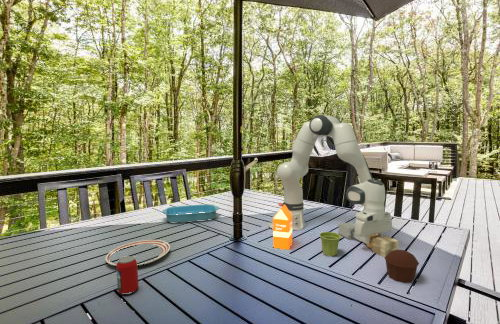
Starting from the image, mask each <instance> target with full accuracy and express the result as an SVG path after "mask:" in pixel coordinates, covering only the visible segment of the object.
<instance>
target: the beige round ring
mask: <svg viewBox="0 0 500 324" xmlns="http://www.w3.org/2000/svg"><path fill="white" fill-rule="evenodd" d="M141 244H153V245H157V246H158V247H160V248H161V249H162V253H161V254H160V255H159V256H158V257H157V258H155V259H154V260H151V261H148V262H145V263H141V264H137V267H138V265H139V266H143V264H144V265H146V264H150V263H153V262H155V261H158V260H159V259H161V258H163V257H164V256H165V255H166V254H168V253H169V251H170V249H171V245H170V244H169V243H168V242H167V241H164V240H162V239H161V240H160V239H144V240H137V241H133V242H129V243H125V244H123V245H119V246H118V247H116V248H114V249H112V250H111V251H109V252H108V254H107V255H106V256H105V262H106V263H107V264H109V265H111V266H116V264H114V263H112V262H110V260H109V257H110V256H111V255H112V254H113V253H115V252H116V251H119V250H120V249H123V248H127V247H130V246H135V245H141Z"/></svg>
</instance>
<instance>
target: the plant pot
mask: <svg viewBox="0 0 500 324" xmlns="http://www.w3.org/2000/svg"><path fill="white" fill-rule="evenodd" d="M319 237H320V240H321V249H322V254H323V255H325V256H327V257H334V256H337V253H338V247H339V243H340V239H341V238H342V236H340V235H339V234H338V233H336V232H334V231H333V232H332V231H322V232H320V233H319Z"/></svg>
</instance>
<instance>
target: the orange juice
mask: <svg viewBox="0 0 500 324" xmlns="http://www.w3.org/2000/svg"><path fill="white" fill-rule="evenodd" d="M278 211H279V212H278ZM278 211H277V212H278V213H277V212H276V213H277V215H276V216H275V217H274V219H273V229H272V230H273V231H272V238H273V239H272V240H273V241H272V242H273V243H272V246H273V247H274V248H273V249H276V248H280V249H279V250H284V249H287V250H286V251H289V250H290V248H291V247H292V245H293V230H292V214H291V213H290V211H289V210H288V208H287V207H286V205H285V204H284V205H283V206H280V209H279V210H278ZM290 246H291V247H290Z"/></svg>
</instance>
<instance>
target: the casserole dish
mask: <svg viewBox="0 0 500 324" xmlns="http://www.w3.org/2000/svg"><path fill="white" fill-rule="evenodd" d="M219 209H220V207H219V206H218V205H215V204H210V203H209V204H208V203H207V204H194V205H193V204H191V205H178V206H169V207H167V208H166V209H162V212H161V213H163V214H165V215H166V219H167V221H168V222H169V223H171V222H185V221H197V220H208V219H212V220H214V219H215V217H216V214H217V211H218V210H219ZM199 212H205V213H199ZM186 213H192V214H186ZM176 214H178V215H176ZM213 218H214V219H213Z"/></svg>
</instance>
